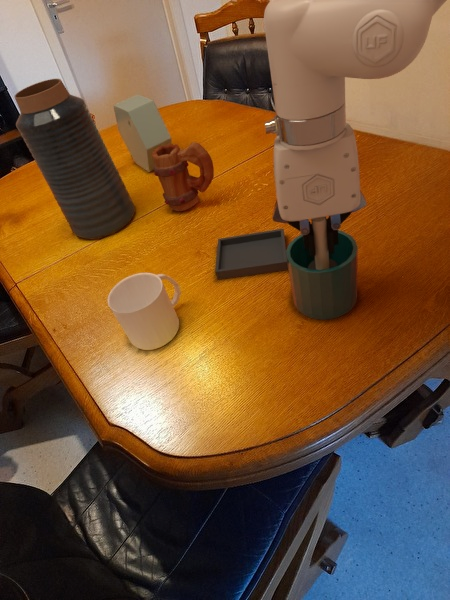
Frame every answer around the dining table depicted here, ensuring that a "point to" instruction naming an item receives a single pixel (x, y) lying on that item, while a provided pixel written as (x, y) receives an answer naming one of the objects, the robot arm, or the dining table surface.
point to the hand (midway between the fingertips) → (321, 248)
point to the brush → (321, 245)
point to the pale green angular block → (141, 129)
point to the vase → (73, 159)
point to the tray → (251, 254)
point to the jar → (324, 279)
